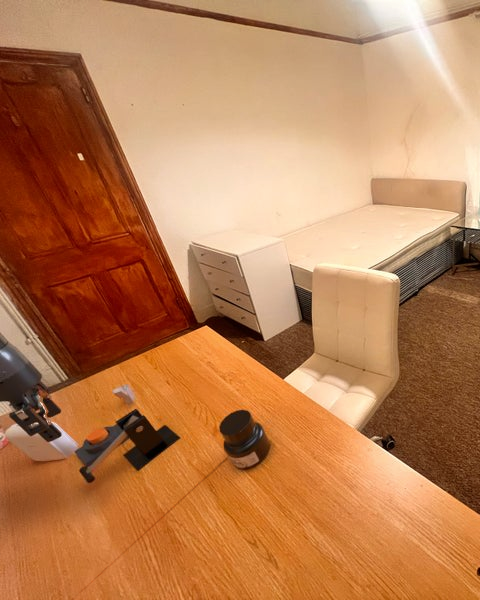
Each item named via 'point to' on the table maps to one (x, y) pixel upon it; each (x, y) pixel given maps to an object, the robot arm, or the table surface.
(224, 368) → the table surface
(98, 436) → the button
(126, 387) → the pale grey angular bracket
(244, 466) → the ink bottle
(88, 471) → the switch lever
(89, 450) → the button box
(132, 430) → the bracket
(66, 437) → the photo printer
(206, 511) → the table surface
